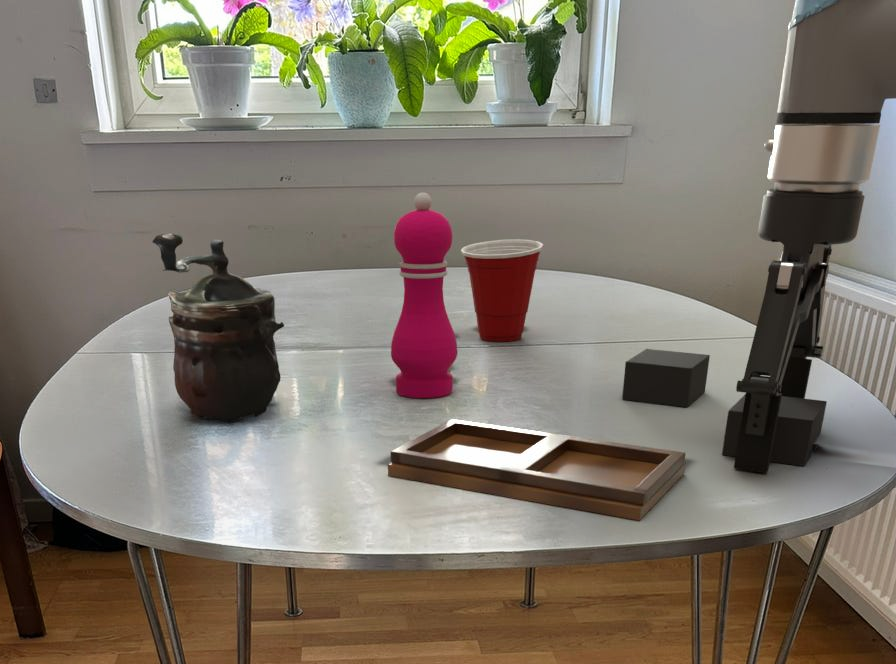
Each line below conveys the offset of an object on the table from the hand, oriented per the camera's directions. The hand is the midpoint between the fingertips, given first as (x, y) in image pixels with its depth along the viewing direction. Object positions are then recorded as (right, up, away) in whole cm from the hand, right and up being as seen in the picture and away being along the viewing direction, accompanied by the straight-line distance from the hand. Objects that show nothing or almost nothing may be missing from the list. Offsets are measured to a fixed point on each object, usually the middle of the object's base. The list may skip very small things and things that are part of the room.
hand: (767, 448), depth 85 cm
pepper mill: (-31, +10, +20) cm, 38 cm away
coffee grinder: (-51, +5, +12) cm, 53 cm away
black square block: (0, 0, 0) cm, 0 cm away
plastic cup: (-20, +24, +45) cm, 55 cm away
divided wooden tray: (-22, -3, -5) cm, 22 cm away
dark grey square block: (-5, +9, +17) cm, 20 cm away
